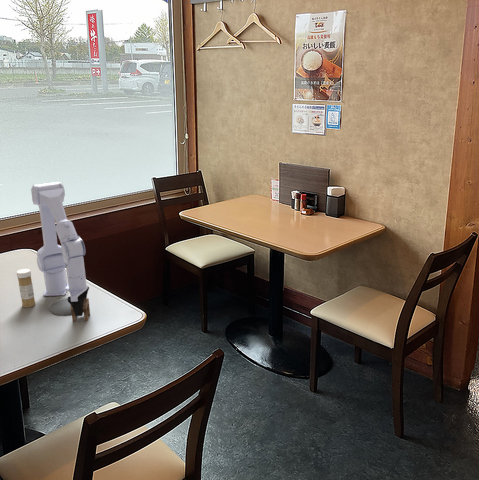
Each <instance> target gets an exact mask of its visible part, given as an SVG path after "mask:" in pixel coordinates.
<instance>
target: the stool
mask: <svg viewBox="0 0 479 480" xmlns="http://www.w3.org/2000/svg"><path fill="white" fill-rule="evenodd" d="M70 307H71V313H72V315H71V320H72V322H76V320H77V318H76V317H77V316H76V315H75V313H74V310H73V308H72V306H71V305H70ZM88 316H91V308H90V299H89V297H87V298H85V300H84V304H83V319H84V322H88V321H89V317H88Z"/></svg>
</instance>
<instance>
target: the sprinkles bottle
mask: <svg viewBox="0 0 479 480" xmlns="http://www.w3.org/2000/svg"><path fill="white" fill-rule="evenodd" d="M16 276H17V281H18V286H19V287H18V288H19V293H20V298H21V306H22V307H23V308H32V307H34V306H35V305H36V300H35V293H34V287H33V286H34V285H33V282H32V271H31V269H29V268H21V269H18V270H17V271H16Z"/></svg>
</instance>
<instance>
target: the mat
mask: <svg viewBox="0 0 479 480" xmlns="http://www.w3.org/2000/svg"><path fill="white" fill-rule="evenodd" d="M67 298H68V297H66V298H62V299H60V300H57V301H55V302H53V303H52V304H51V305H50V307H49V310H50V312H51V314H53V315H57V316H70V315H71V316H72V313H71V307H70V303H69V302H68V300H67Z"/></svg>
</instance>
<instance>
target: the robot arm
mask: <svg viewBox="0 0 479 480" xmlns="http://www.w3.org/2000/svg"><path fill="white" fill-rule="evenodd" d="M64 187H65V186H64V185H63V183H62V182H61V181H56V182H55V181H54V182H49V183H48V182H47V183H42V184H41V183H40V184H33V185H32V186H31V189H30V191H31V193H30V194H31V200H32V204H33V205H36V206H38V209H39V210H38V211H39V217H40V225H41V232H42V233H41V234H42V240H43V246H41V247H40V248H39V249H38V250H37V251H36V263H37V267H38V269H39V271H40V272H41V273H43V277H44V284H45V285H44V286H45V291H44V293H42V294H43V295H42V296H43V297H51V296H52V297H53V296H65V295H66V294H67V292H69V295H70V296H68V297H66V298H67V300H68V302H69V303H70V305H71V306H72V308H73V310H74V313H75V315H76V316H75V317H82V316H84V313H83V304H84V300H85V298H88V293H89V291H90V287H89V286H88V285H87V277H86V269H85V262H84V261H85V260H84V259H85V258H84V256H85V255H86V246H85V243H84V241H83V239H82V238H81V236H80V235H78V233H77V231H76V228H75V226H74V223H73V221H71V220H69V219H68V217H67V215H66V211H65V206H64V204H63V203H64V201H65V196H66V194H65V188H64ZM57 236H58V237H57ZM58 239H59V242H60V244H61V245H60V244H58Z"/></svg>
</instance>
